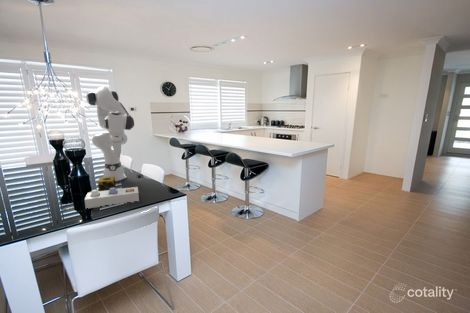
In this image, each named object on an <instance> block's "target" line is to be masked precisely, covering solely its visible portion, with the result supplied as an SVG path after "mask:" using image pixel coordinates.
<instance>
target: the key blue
mask: <svg viewBox="0 0 470 313" xmlns="http://www.w3.org/2000/svg"><path fill="white" fill-rule="evenodd" d="M116 189H117V187H116V188H110V189H109V192H110V194H117V192H116Z"/></svg>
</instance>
